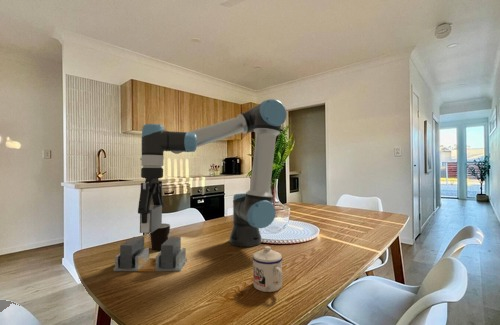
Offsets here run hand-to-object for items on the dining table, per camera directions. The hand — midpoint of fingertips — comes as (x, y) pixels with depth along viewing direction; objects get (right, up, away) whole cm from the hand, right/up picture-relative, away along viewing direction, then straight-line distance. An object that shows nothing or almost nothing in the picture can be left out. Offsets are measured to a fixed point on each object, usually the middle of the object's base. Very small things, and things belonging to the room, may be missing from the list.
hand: (151, 228), depth 90 cm
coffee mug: (-3, -14, +20) cm, 25 cm away
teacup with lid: (+42, -14, -16) cm, 47 cm away
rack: (0, -14, 0) cm, 14 cm away
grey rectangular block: (0, 0, 0) cm, 0 cm away
